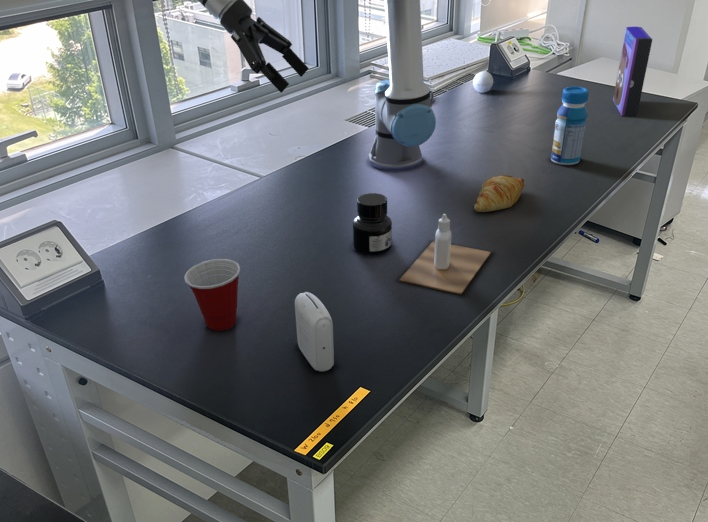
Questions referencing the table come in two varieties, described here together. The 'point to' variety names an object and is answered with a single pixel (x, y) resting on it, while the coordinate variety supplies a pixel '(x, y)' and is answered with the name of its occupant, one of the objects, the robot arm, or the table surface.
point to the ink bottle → (372, 225)
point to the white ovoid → (483, 82)
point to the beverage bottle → (570, 126)
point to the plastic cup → (215, 291)
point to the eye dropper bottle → (442, 244)
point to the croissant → (499, 193)
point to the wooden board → (451, 279)
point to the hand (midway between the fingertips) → (295, 80)
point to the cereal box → (632, 71)
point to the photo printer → (314, 331)
